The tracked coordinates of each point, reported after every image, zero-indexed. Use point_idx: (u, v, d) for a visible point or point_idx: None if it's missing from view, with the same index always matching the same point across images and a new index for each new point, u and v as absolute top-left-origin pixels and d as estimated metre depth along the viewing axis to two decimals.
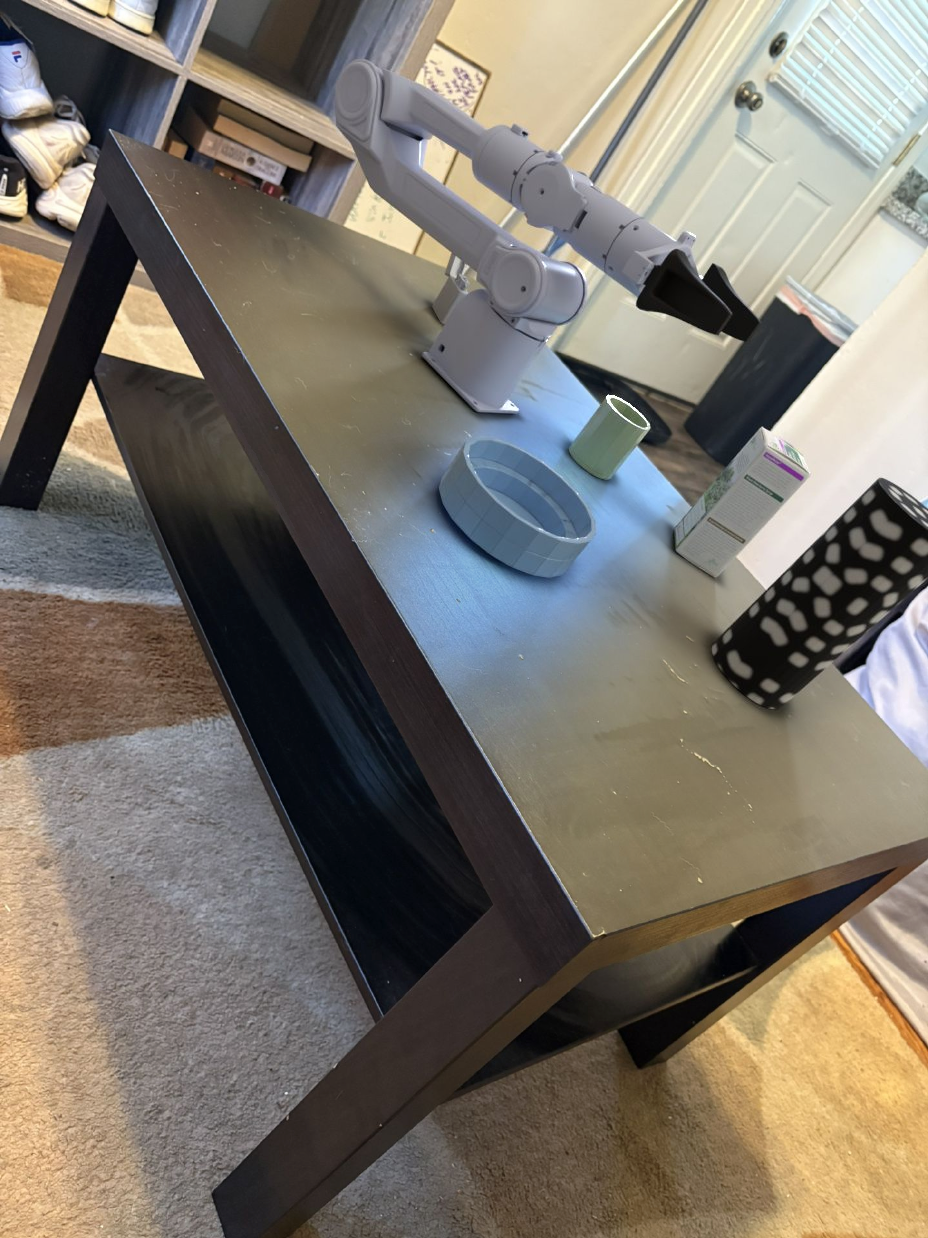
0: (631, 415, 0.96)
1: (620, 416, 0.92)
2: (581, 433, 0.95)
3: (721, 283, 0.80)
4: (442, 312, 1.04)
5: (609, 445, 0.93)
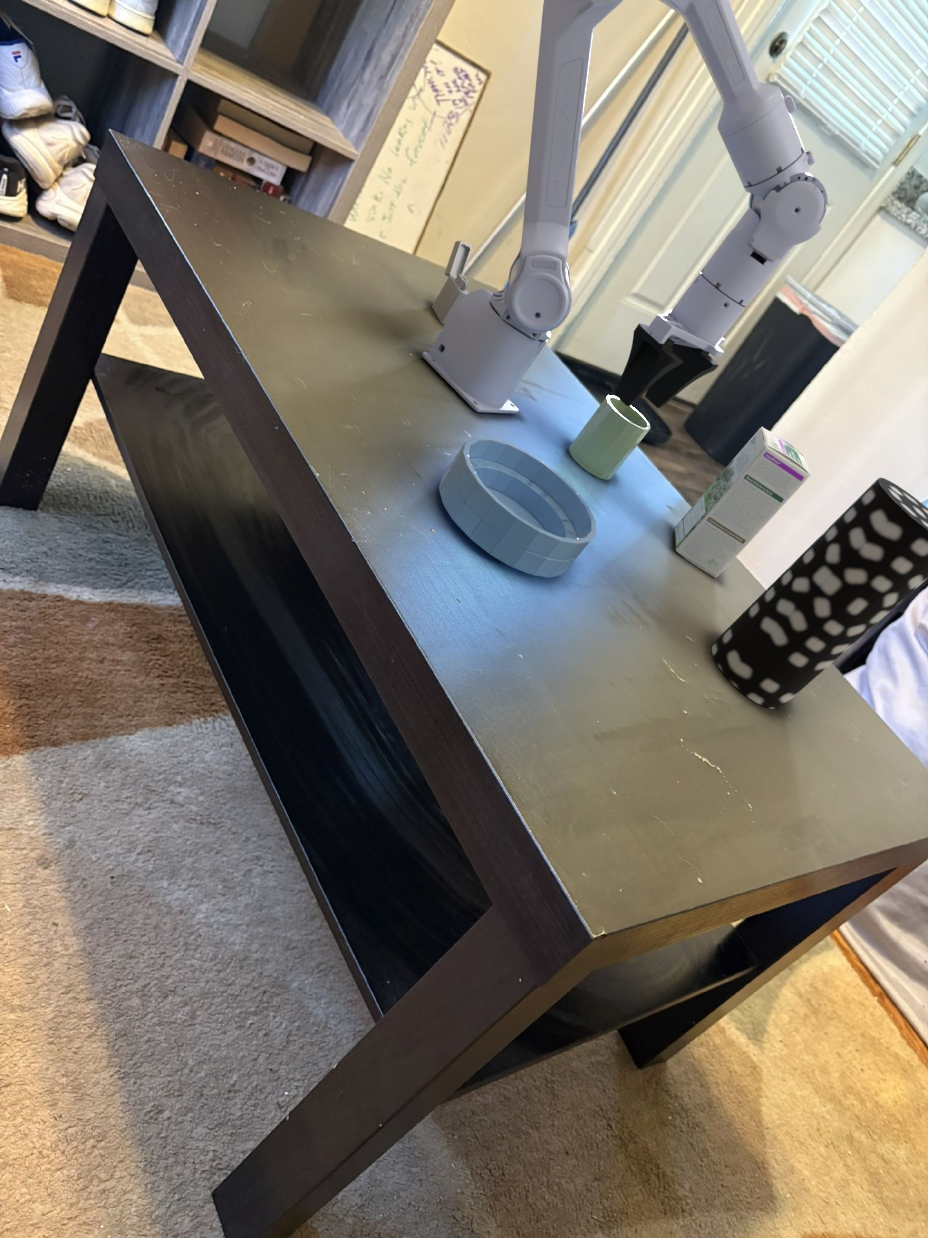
0: (631, 415, 0.96)
1: (620, 416, 0.92)
2: (581, 433, 0.95)
3: (694, 373, 0.93)
4: (442, 312, 1.04)
5: (609, 445, 0.93)
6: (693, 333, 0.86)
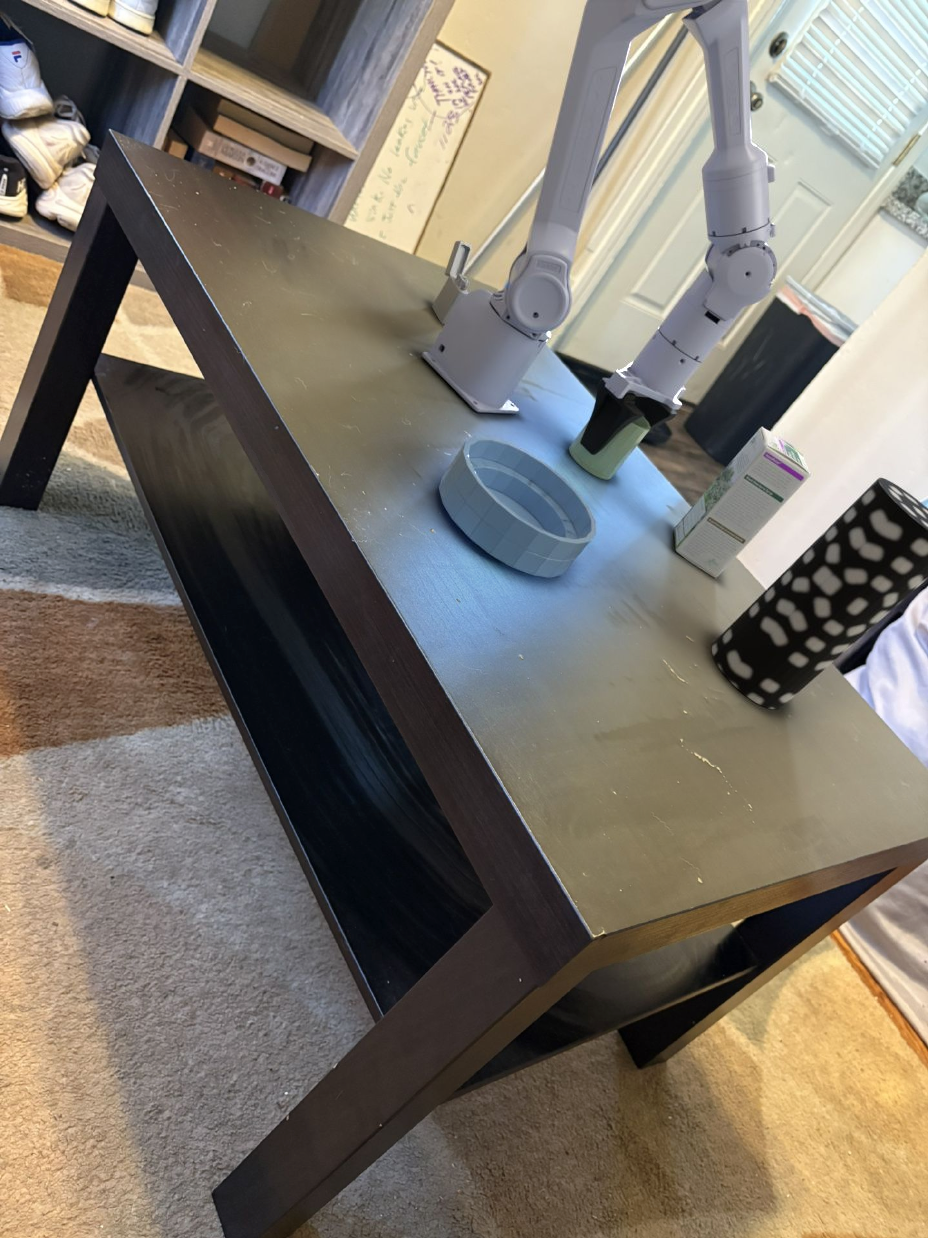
0: None
1: None
2: (581, 433, 0.95)
3: (653, 421, 0.96)
4: (442, 312, 1.04)
5: (609, 445, 0.93)
6: (651, 387, 0.89)
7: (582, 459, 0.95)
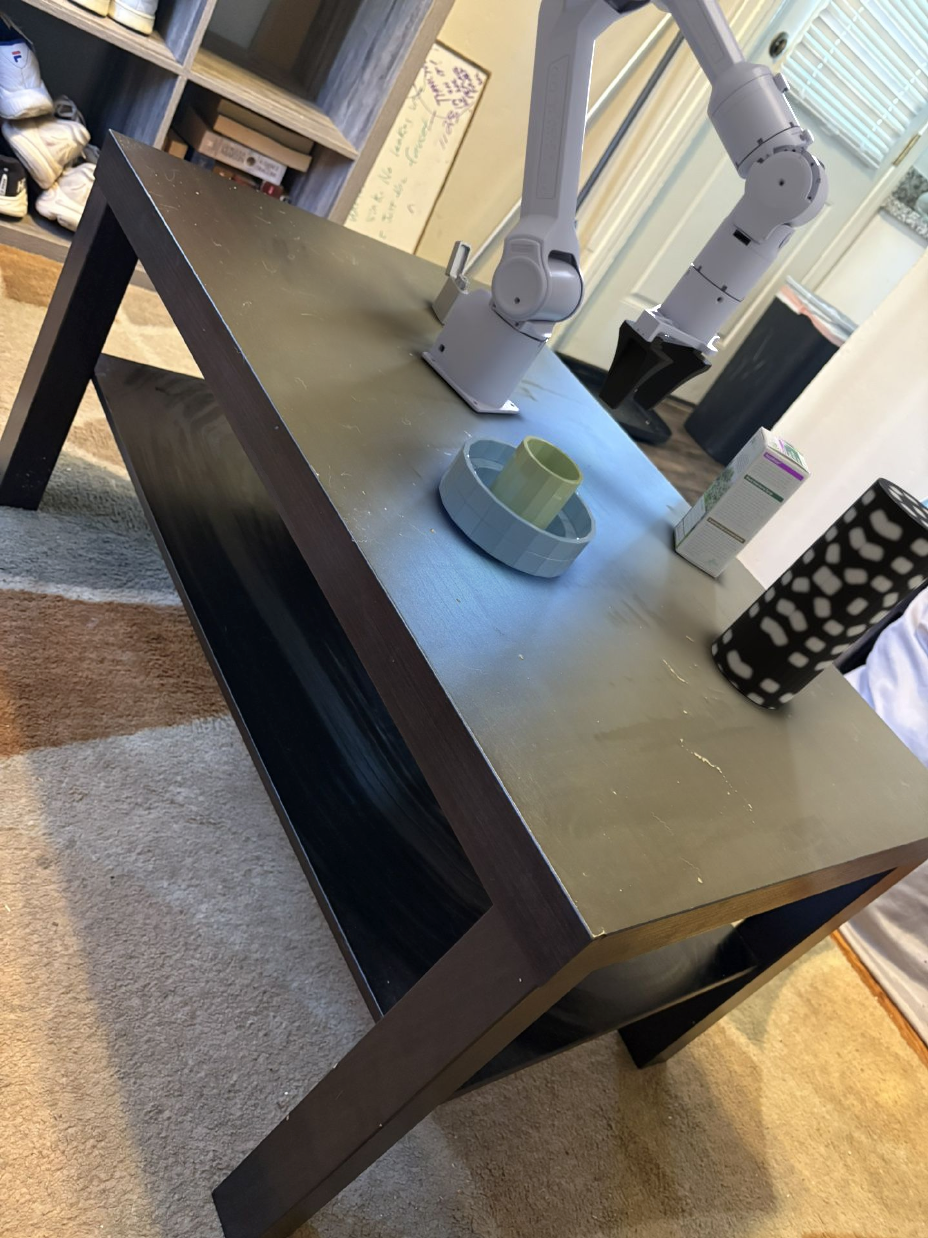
0: (560, 461, 0.73)
1: (540, 466, 0.68)
2: (492, 486, 0.72)
3: (686, 373, 0.86)
4: (442, 312, 1.04)
5: (527, 504, 0.69)
6: (684, 330, 0.79)
7: None
